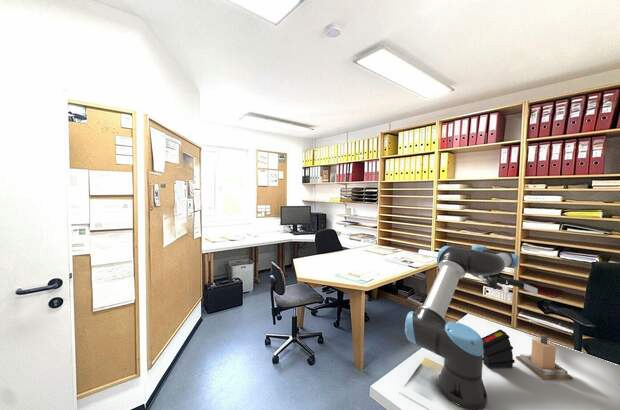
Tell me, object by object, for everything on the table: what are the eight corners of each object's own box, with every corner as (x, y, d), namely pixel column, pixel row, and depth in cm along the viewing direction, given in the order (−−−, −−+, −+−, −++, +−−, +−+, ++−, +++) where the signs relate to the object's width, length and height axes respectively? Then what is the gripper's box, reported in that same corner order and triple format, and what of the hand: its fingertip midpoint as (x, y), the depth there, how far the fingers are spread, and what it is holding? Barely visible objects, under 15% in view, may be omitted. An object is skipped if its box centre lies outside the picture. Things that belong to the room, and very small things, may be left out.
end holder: (541, 379, 94) (542, 373, 94) (515, 358, 106) (516, 352, 106) (572, 379, 94) (572, 373, 94) (543, 358, 106) (543, 353, 106)
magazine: (521, 365, 99) (508, 333, 98) (493, 378, 99) (479, 347, 98) (513, 358, 103) (500, 328, 102) (486, 371, 103) (473, 341, 102)
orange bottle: (542, 370, 97) (544, 339, 97) (531, 361, 102) (532, 332, 102) (554, 370, 97) (556, 339, 97) (542, 361, 102) (544, 332, 102)
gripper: (511, 283, 135) (548, 299, 114) (467, 282, 136) (495, 298, 114) (512, 270, 135) (549, 284, 114) (467, 269, 135) (496, 282, 114)
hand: (522, 291), depth 114 cm, fingers open, 13 cm apart
